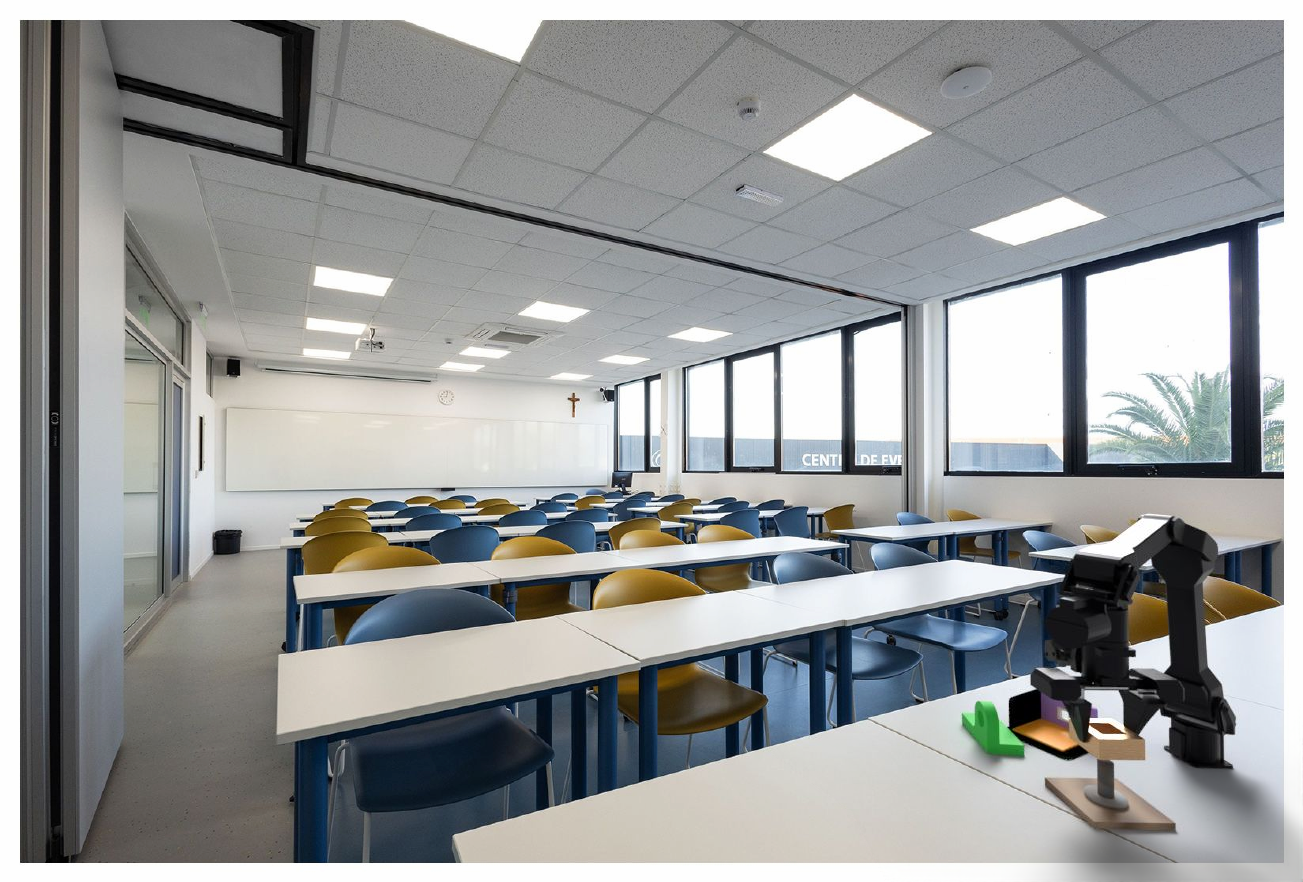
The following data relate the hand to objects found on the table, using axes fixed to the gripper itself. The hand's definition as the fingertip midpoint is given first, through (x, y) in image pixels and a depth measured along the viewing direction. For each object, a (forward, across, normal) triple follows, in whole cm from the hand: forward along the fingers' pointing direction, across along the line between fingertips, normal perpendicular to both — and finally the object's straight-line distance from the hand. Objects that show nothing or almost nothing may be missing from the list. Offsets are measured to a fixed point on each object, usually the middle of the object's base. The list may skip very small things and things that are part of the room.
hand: (1105, 741), depth 88 cm
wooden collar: (+1, 0, 0) cm, 1 cm away
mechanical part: (+10, +6, -21) cm, 24 cm away
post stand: (+10, 0, 0) cm, 10 cm away
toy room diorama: (+10, -5, -21) cm, 24 cm away
